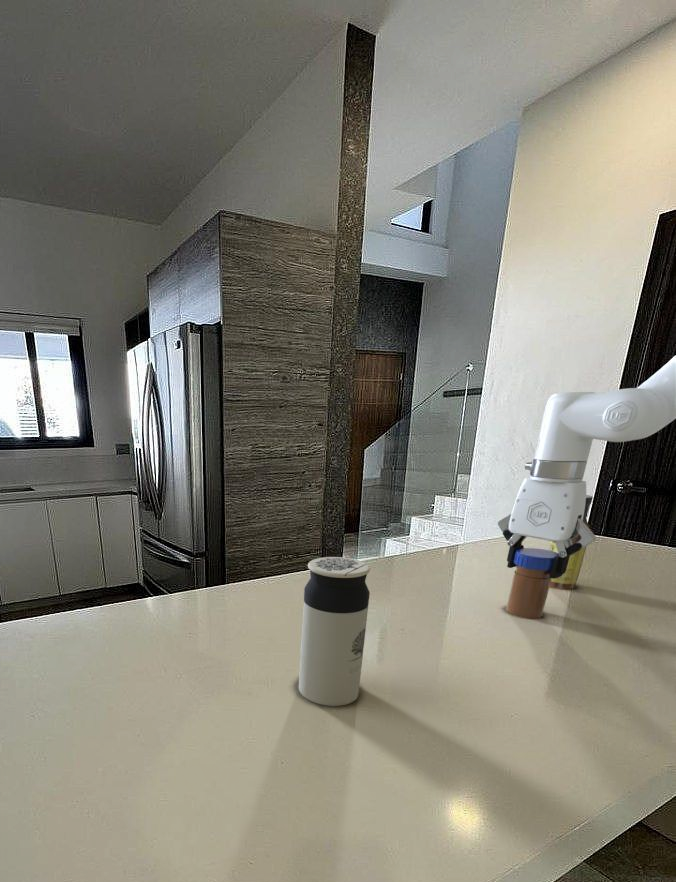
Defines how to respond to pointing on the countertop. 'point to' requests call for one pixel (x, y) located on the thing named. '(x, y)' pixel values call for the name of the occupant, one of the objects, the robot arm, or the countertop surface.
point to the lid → (534, 558)
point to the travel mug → (333, 630)
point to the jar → (528, 592)
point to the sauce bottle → (571, 558)
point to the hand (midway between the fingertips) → (533, 570)
